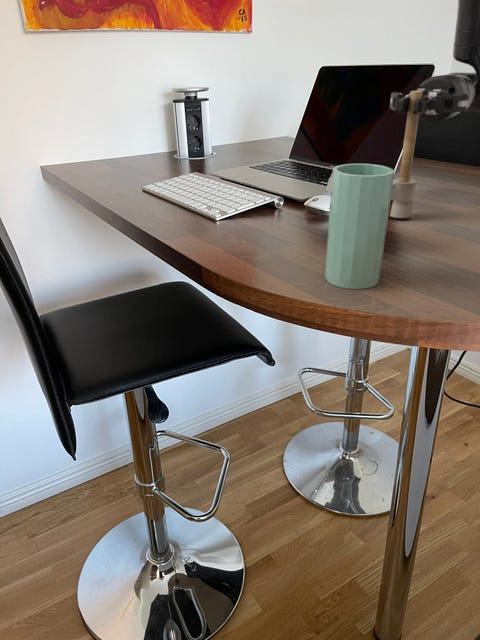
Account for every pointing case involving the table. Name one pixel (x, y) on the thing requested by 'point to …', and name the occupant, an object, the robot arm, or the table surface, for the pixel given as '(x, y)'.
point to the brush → (406, 165)
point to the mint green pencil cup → (357, 224)
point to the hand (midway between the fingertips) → (408, 106)
